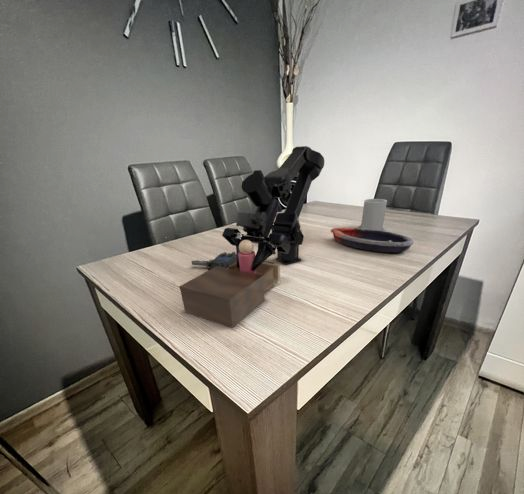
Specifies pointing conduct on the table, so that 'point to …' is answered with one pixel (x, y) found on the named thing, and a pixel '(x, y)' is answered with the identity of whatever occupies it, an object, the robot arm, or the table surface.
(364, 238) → the dish
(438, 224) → the table surface
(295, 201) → the robot arm
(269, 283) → the drawer
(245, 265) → the doll
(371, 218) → the cup
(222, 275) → the cabinet
